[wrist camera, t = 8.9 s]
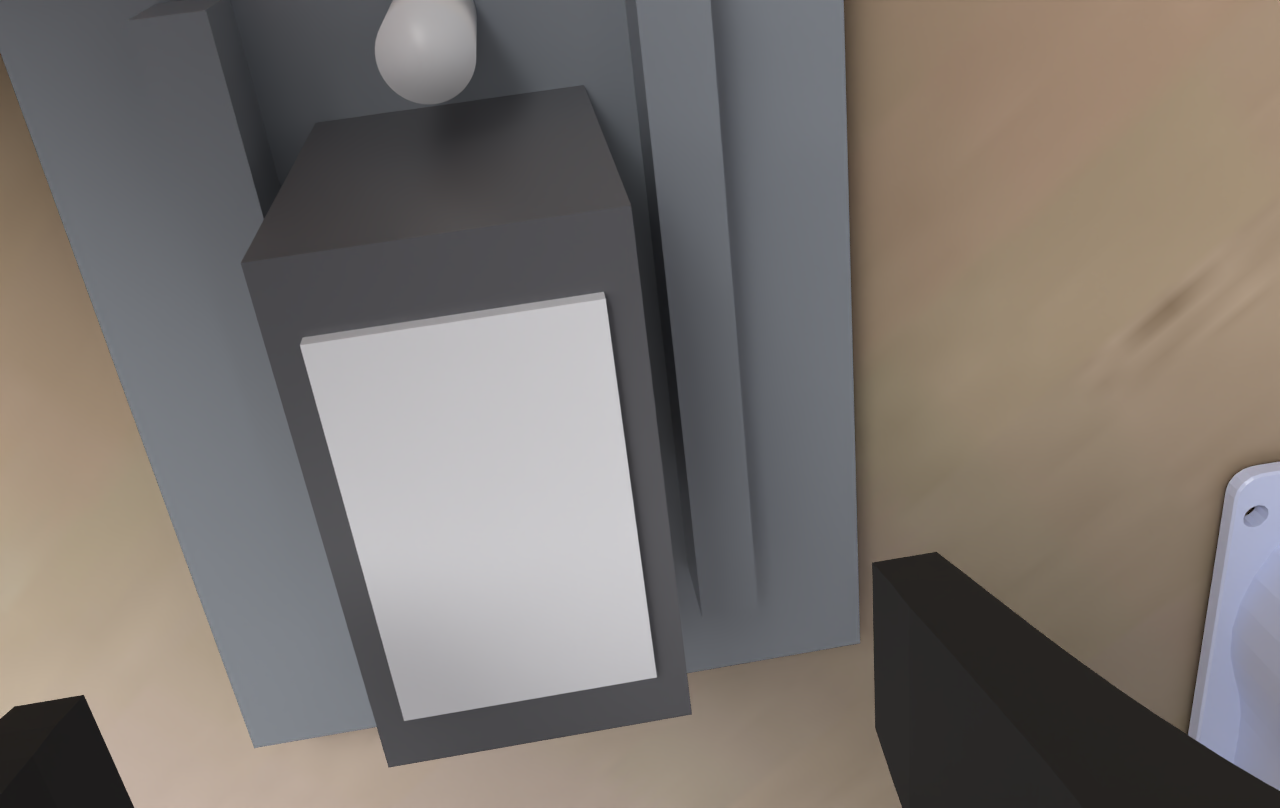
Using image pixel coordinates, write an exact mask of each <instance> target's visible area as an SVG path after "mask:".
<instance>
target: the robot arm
mask: <svg viewBox="0 0 1280 808" xmlns="http://www.w3.org/2000/svg"><path fill="white" fill-rule="evenodd" d="M1252 507H1255V509H1254V510H1253V511H1252V512H1251V513H1250V514H1248V515H1246V516H1245V514H1246V512H1247V511H1248V510H1249V509H1250V508H1252ZM872 575H873V628H874V681H875V728H876V731H877V734H878V737H879V740H880V743H881V746H882V749H883V752H884V755H885V758H886V761H887V764H888V767H889V771H890V774H891V777H892V780H893V783H894V785H895V788H896V791H897V794H898V797H899V800H900V802H901V805H902V808H1280V462H1274V463H1268V464H1262V465H1256V466H1251V467H1248V468H1245V469H1243V470H1241V471H1240V472H1238V473H1237V474H1235V475H1234V477H1233V478H1232V479H1231V480H1230V482H1229V483H1228V486H1227V489H1226V493H1225V499H1224V506H1223V512H1222V519H1221V525H1220V532H1219V538H1218V545H1217V551H1216V557H1215V564H1214V570H1213V577H1212V583H1211V590H1210V596H1209V603H1208V609H1207V616H1206V622H1205V629H1204V635H1203V642H1202V648H1201V655H1200V661H1199V667H1198V674H1197V680H1196V687H1195V693H1194V700H1193V706H1192V713H1191V719H1190V726H1189V732H1188V735H1187V734H1185V733H1184V732H1182V731H1181V730H1179V729H1178V728H1176V727H1174V726H1173V725H1171V724H1170V723H1168V722H1167V721H1165V720H1163V719H1162V718H1160V717H1159V716H1157V715H1156V714H1154V713H1153V712H1151V711H1150V710H1148V709H1147V708H1145V707H1144V706H1142V705H1141V704H1139V703H1138V702H1136V701H1135V700H1134V699H1132V698H1131V697H1129V696H1128V695H1126V694H1125V693H1123V692H1122V691H1120V690H1119V689H1118V688H1116V687H1115V686H1113V685H1112V684H1111V683H1109V682H1108V681H1106V680H1105V679H1104V678H1102V677H1101V676H1099V675H1098V674H1097V673H1095V672H1094V671H1092V670H1091V669H1090V668H1088V667H1087V666H1085V665H1084V664H1083V663H1081V662H1080V661H1078V660H1077V659H1076V658H1074V657H1073V656H1071V655H1070V654H1069V653H1067V652H1066V651H1065V650H1063V649H1062V648H1061V647H1059V646H1058V645H1057V644H1055V643H1054V642H1053V641H1051V640H1050V639H1049V638H1047V637H1046V636H1045V635H1043V634H1042V633H1041V632H1039V631H1038V630H1037V629H1036V628H1034V627H1033V626H1032V625H1030V624H1029V623H1028V622H1026V621H1025V620H1024V619H1022V618H1021V617H1020V616H1019V615H1017V614H1016V613H1015V612H1013V611H1012V610H1011V609H1009V608H1008V607H1007V606H1006V605H1004V604H1003V603H1002V602H1000V601H999V600H998V599H997V598H995V597H994V596H993V595H991V594H990V593H989V592H988V591H986V590H985V589H984V588H982V587H981V586H980V585H979V584H977V583H976V582H975V581H973V580H972V579H971V578H970V577H968V576H967V575H966V574H964V573H963V572H962V571H960V570H959V569H958V568H957V567H955V566H954V565H953V564H951V563H950V562H949V561H947V560H946V559H945V558H944V557H942V556H941V555H940V554H938V553H937V552H933V553H928V554H922V555H916V556H910V557H904V558H898V559H892V560H886V561H880V562H874V563H872ZM0 808H134V806H133V804H132V802H131V800H130V797H129V795H128V793H127V791H126V789H125V786H124V784H123V782H122V780H121V777H120V775H119V773H118V771H117V768H116V766H115V764H114V762H113V759H112V757H111V755H110V753H109V750H108V748H107V746H106V744H105V742H104V739H103V737H102V735H101V733H100V730H99V728H98V726H97V724H96V721H95V719H94V717H93V715H92V712H91V710H90V708H89V706H88V703H87V701H86V699H85V697H84V695H81V696H75V697H69V698H63V699H57V700H51V701H45V702H39V703H33V704H27V705H21V706H16V707H14V708H12V709H11V710H10V711H9V712H8V713H7V714H5V715H4V716H3V717H2V718H1V719H0Z"/></svg>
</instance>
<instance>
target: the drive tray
mask: <svg viewBox="0 0 1280 808" xmlns="http://www.w3.org/2000/svg"><path fill="white" fill-rule="evenodd" d="M0 53H1V56H2V58H3V61H4V64H5V67H6V69H7V72H8V75H9V78H10V80H11V83H12V86H13V89H14V91H15V94H16V97H17V100H18V102H19V105H20V108H21V111H22V113H23V116H24V119H25V121H26V124H27V127H28V130H29V132H30V135H31V138H32V141H33V143H34V146H35V149H36V152H37V154H38V157H39V160H40V163H41V165H42V168H43V171H44V173H45V176H46V179H47V182H48V184H49V187H50V190H51V193H52V195H53V198H54V201H55V204H56V206H57V209H58V212H59V215H60V217H61V220H62V223H63V225H64V228H65V231H66V234H67V236H68V239H69V242H70V245H71V247H72V250H73V253H74V256H75V258H76V261H77V264H78V267H79V269H80V272H81V275H82V278H83V280H84V283H85V286H86V288H87V291H88V294H89V297H90V299H91V302H92V305H93V308H94V310H95V313H96V316H97V319H98V321H99V324H100V327H101V330H102V332H103V335H104V338H105V340H106V343H107V346H108V349H109V351H110V354H111V357H112V360H113V362H114V365H115V368H116V371H117V373H118V376H119V379H120V382H121V384H122V387H123V390H124V393H125V395H126V398H127V401H128V403H129V406H130V409H131V412H132V414H133V417H134V420H135V423H136V425H137V428H138V431H139V434H140V436H141V439H142V442H143V445H144V447H145V450H146V453H147V455H148V458H149V461H150V464H151V466H152V469H153V472H154V475H155V477H156V480H157V483H158V486H159V488H160V491H161V494H162V497H163V499H164V502H165V505H166V508H167V510H168V513H169V516H170V518H171V521H172V524H173V527H174V529H175V532H176V535H177V538H178V540H179V543H180V546H181V549H182V551H183V554H184V557H185V560H186V562H187V565H188V568H189V570H190V573H191V576H192V579H193V581H194V584H195V587H196V590H197V592H198V595H199V598H200V601H201V603H202V606H203V609H204V612H205V614H206V617H207V620H208V623H209V625H210V628H211V631H212V633H213V636H214V639H215V642H216V644H217V647H218V650H219V653H220V655H221V658H222V661H223V664H224V666H225V669H226V672H227V675H228V677H229V680H230V683H231V685H232V688H233V691H234V694H235V696H236V699H237V702H238V705H239V707H240V710H241V713H242V716H243V718H244V721H245V724H246V727H247V729H248V732H249V735H250V737H251V740H252V743H253V746H254V748H257V747H263V746H269V745H275V744H280V743H286V742H292V741H298V740H304V739H309V738H315V737H321V736H327V735H332V734H338V733H344V732H350V731H356V730H361V729H367V728H373V727H377V726H376V722H375V719H374V716H373V712H372V709H371V705H370V702H369V699H368V695H367V692H366V688H365V685H364V682H363V678H362V675H361V671H360V668H359V665H358V661H357V658H356V654H355V651H354V648H353V644H352V641H351V637H350V634H349V631H348V627H347V624H346V620H345V617H344V613H343V610H342V607H341V603H340V600H339V596H338V593H337V590H336V586H335V583H334V579H333V576H332V573H331V569H330V566H329V562H328V559H327V556H326V552H325V549H324V545H323V542H322V539H321V535H320V532H319V528H318V525H317V522H316V518H315V515H314V511H313V508H312V504H311V501H310V498H309V494H308V491H307V487H306V484H305V481H304V477H303V474H302V470H301V467H300V464H299V460H298V457H297V453H296V450H295V447H294V443H293V440H292V436H291V433H290V430H289V426H288V423H287V419H286V416H285V413H284V409H283V406H282V402H281V399H280V395H279V392H278V389H277V385H276V382H275V378H274V375H273V372H272V368H271V365H270V361H269V358H268V355H267V351H266V348H265V344H264V341H263V338H262V334H261V331H260V327H259V324H258V321H257V317H256V314H255V310H254V307H253V303H252V300H251V297H250V293H249V290H248V286H247V283H246V280H245V276H244V273H243V269H242V266H241V261H242V259H243V258H244V256H245V254H246V252H247V250H248V248H249V246H250V245H251V243H252V241H253V239H254V237H255V235H256V233H257V231H258V230H259V228H260V226H261V224H262V222H263V220H264V218H265V216H266V215H267V213H268V211H269V209H270V207H271V205H272V203H273V202H274V200H275V198H276V196H277V194H278V192H279V190H280V188H281V187H282V185H283V183H284V181H285V179H286V177H287V175H288V173H289V172H290V170H291V168H292V166H293V164H294V162H295V160H296V159H297V157H298V155H299V153H300V151H301V149H302V147H303V145H304V144H305V142H306V140H307V138H308V136H309V134H310V132H311V130H312V129H313V127H314V125H315V123H317V122H324V121H332V120H339V119H346V118H353V117H360V116H367V115H374V114H381V113H388V112H396V111H403V110H410V109H417V108H424V107H431V106H438V105H445V104H452V103H459V102H467V101H474V100H481V99H488V98H495V97H502V96H509V95H516V94H523V93H530V92H538V91H545V90H552V89H559V88H566V87H573V86H580V85H584V87H585V89H586V92H587V94H588V97H589V100H590V102H591V105H592V107H593V110H594V112H595V115H596V117H597V120H598V122H599V125H600V127H601V130H602V133H603V135H604V138H605V140H606V143H607V145H608V148H609V150H610V153H611V155H612V158H613V160H614V163H615V166H616V168H617V171H618V173H619V176H620V178H621V181H622V183H623V186H624V188H625V191H626V193H627V196H628V199H629V201H630V204H631V208H632V216H633V225H634V233H635V242H636V250H637V258H638V267H639V275H640V284H641V292H642V300H643V309H644V317H645V326H646V334H647V342H648V351H649V359H650V368H651V376H652V384H653V393H654V401H655V410H656V418H657V426H658V435H659V443H660V452H661V460H662V468H663V477H664V485H665V494H666V502H667V510H668V519H669V527H670V536H671V544H672V552H673V561H674V569H675V578H676V586H677V594H678V603H679V611H680V620H681V628H682V636H683V645H684V653H685V662H686V670H687V673H691V672H697V671H703V670H709V669H714V668H720V667H726V666H732V665H737V664H743V663H749V662H755V661H761V660H766V659H772V658H778V657H784V656H790V655H795V654H801V653H807V652H813V651H818V650H824V649H830V648H836V647H842V646H847V645H853V644H859V643H860V617H859V579H858V540H857V501H856V462H855V423H854V384H853V346H852V307H851V268H850V229H849V190H848V151H847V113H846V74H845V35H844V0H0Z"/></svg>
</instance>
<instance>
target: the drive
mask: <svg viewBox="0 0 1280 808" xmlns="http://www.w3.org/2000/svg"><path fill="white" fill-rule="evenodd" d="M241 266H242V269H243V273H244V276H245V280H246V283H247V286H248V290H249V293H250V297H251V300H252V303H253V307H254V310H255V314H256V317H257V321H258V324H259V327H260V331H261V334H262V338H263V341H264V344H265V348H266V351H267V355H268V358H269V361H270V365H271V368H272V372H273V375H274V378H275V382H276V385H277V389H278V392H279V395H280V399H281V402H282V406H283V409H284V413H285V416H286V419H287V423H288V426H289V430H290V433H291V436H292V440H293V443H294V447H295V450H296V453H297V457H298V460H299V464H300V467H301V470H302V474H303V477H304V481H305V484H306V487H307V491H308V494H309V498H310V501H311V504H312V508H313V511H314V515H315V518H316V522H317V525H318V528H319V532H320V535H321V539H322V542H323V545H324V549H325V552H326V556H327V559H328V562H329V566H330V569H331V573H332V576H333V579H334V583H335V586H336V590H337V593H338V596H339V600H340V603H341V607H342V610H343V613H344V617H345V620H346V624H347V627H348V631H349V634H350V637H351V641H352V644H353V648H354V651H355V654H356V658H357V661H358V665H359V668H360V671H361V675H362V678H363V682H364V685H365V688H366V692H367V695H368V699H369V702H370V705H371V709H372V712H373V716H374V719H375V722H376V726H377V729H378V733H379V736H380V740H381V743H382V746H383V750H384V753H385V757H386V760H387V763H388V767H394V766H400V765H405V764H411V763H417V762H423V761H428V760H434V759H440V758H445V757H451V756H457V755H463V754H468V753H474V752H480V751H485V750H491V749H497V748H502V747H508V746H514V745H520V744H525V743H531V742H537V741H542V740H548V739H554V738H560V737H565V736H571V735H577V734H582V733H588V732H594V731H600V730H605V729H611V728H617V727H622V726H628V725H634V724H640V723H645V722H651V721H657V720H662V719H668V718H674V717H679V716H685V715H691V714H692V712H691V704H690V695H689V687H688V678H687V670H686V662H685V653H684V645H683V636H682V628H681V620H680V611H679V603H678V594H677V586H676V578H675V569H674V561H673V552H672V544H671V536H670V527H669V519H668V510H667V502H666V494H665V485H664V477H663V468H662V460H661V452H660V443H659V435H658V426H657V418H656V410H655V401H654V393H653V384H652V376H651V368H650V359H649V351H648V342H647V334H646V326H645V317H644V309H643V300H642V292H641V284H640V275H639V267H638V258H637V250H636V242H635V233H634V225H633V216H632V208H631V204H630V201H629V199H628V196H627V193H626V191H625V188H624V186H623V183H622V181H621V178H620V176H619V173H618V171H617V168H616V166H615V163H614V160H613V158H612V155H611V153H610V150H609V148H608V145H607V143H606V140H605V138H604V135H603V133H602V130H601V127H600V125H599V122H598V120H597V117H596V115H595V112H594V110H593V107H592V105H591V102H590V100H589V97H588V94H587V92H586V89H585V87H584V85H580V86H573V87H566V88H559V89H552V90H545V91H538V92H530V93H523V94H516V95H509V96H502V97H495V98H488V99H481V100H474V101H467V102H459V103H452V104H445V105H438V106H431V107H424V108H417V109H410V110H403V111H396V112H388V113H381V114H374V115H367V116H360V117H353V118H346V119H339V120H332V121H324V122H317V123H315V125H314V127H313V129H312V130H311V132H310V134H309V136H308V138H307V140H306V142H305V144H304V145H303V147H302V149H301V151H300V153H299V155H298V157H297V159H296V160H295V162H294V164H293V166H292V168H291V170H290V172H289V173H288V175H287V177H286V179H285V181H284V183H283V185H282V187H281V188H280V190H279V192H278V194H277V196H276V198H275V200H274V202H273V203H272V205H271V207H270V209H269V211H268V213H267V215H266V216H265V218H264V220H263V222H262V224H261V226H260V228H259V230H258V231H257V233H256V235H255V237H254V239H253V241H252V243H251V245H250V246H249V248H248V250H247V252H246V254H245V256H244V258H243V259H242V261H241Z"/></svg>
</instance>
